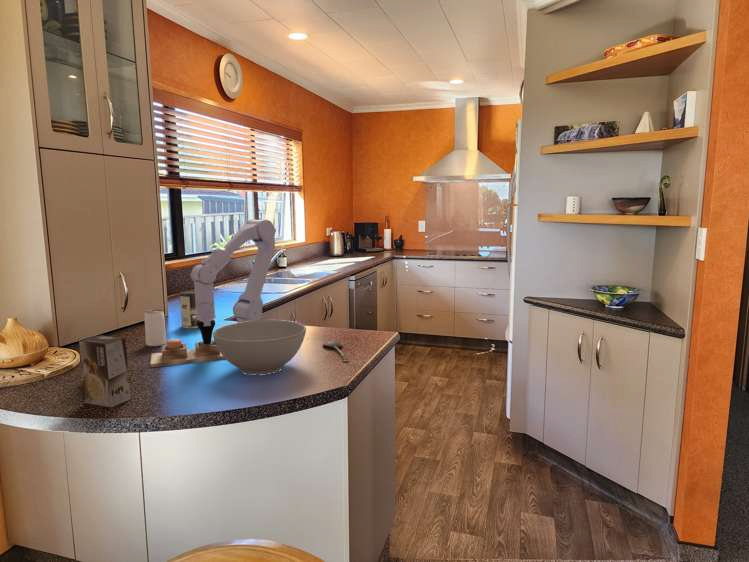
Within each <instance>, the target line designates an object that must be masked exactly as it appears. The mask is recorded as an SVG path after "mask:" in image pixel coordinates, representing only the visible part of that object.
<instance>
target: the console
mask: <svg viewBox="0 0 749 562" xmlns="http://www.w3.org/2000/svg"><path fill="white" fill-rule="evenodd" d="M202 342H203V340H202V341H195V342H194V345H195V347H194V349H187V343H186V342H185V343H184V342H183V343H182V342H181V343H182V348H180V349H170V350H167V344H164V345H161V352H155V353H151V357H150V363H149V364H150V368H156V367H164V366H172V365H174V366H175V365H181V364H182V365H183V364H190V363H191V364H193V363H199V362H209V361H210V360H211V361H218V360H217V359H220V360H226V359H225V358H224V356H223V355H222V354H221V352H220V351H219V349H218V347H217V345H216V343H215V341H214V339H213V340H212V339H211V342H214V345H210V346H200V343H202Z"/></svg>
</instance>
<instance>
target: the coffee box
mask: <svg viewBox="0 0 749 562" xmlns="http://www.w3.org/2000/svg"><path fill="white" fill-rule="evenodd" d="M78 343H79V351H80V352H79V354H80V362H81V364H80V365H81V373H82V381H83V382H82V383H83V390H84V402H85V404H89V405H96V406H101V407H107V408H114V407H116V406H118V405H120V404H123V403H125V402H128V401H130V400H131V389H130V377H129V365H128V363H129V362H128V354H127V343H126V337H119V336H109V335H102V334H101V335H99V334H98V335H95V336H91V337H87V338H85V339H82V340H79V341H78Z"/></svg>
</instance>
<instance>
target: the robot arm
mask: <svg viewBox="0 0 749 562" xmlns="http://www.w3.org/2000/svg"><path fill="white" fill-rule="evenodd" d="M276 231H277V230H276V227H275V226H274V224H273V222H272V221H271V220H269V219H254V218H253V219H252V218H251V219H249V220H247V221H246V222H245V223H244V224H243V225H241V227H240V228H239V230H238V231H237V232H236V233H235V234H234V235H233V237H231V238H230V240H229V241H227V242H226V244H225V245H224V246H223V247H221V248H220V247H217V248H213V249H211V252H210V255H208V256H207V257H206V258H205V259H202V260H201V261H200V263H201V264H196V265H195V266H194V267H193V268H192V271H191V272H190V274H189V275H190V279H191V280H192V281H193V283H194V284H193V285H194V290H195V303H196V316H192V318H193V319H197V320H200V322H197V326H198V327H199V328H198V329H199V331H200V334H201V339H202V341H203V343H204V344H210V343H211V341H212V338H213V332H214V329H215V326H216V321H215V318H216V312H215V310H216V309H215V293H214V292H215V291H214V282H215V280H216V279H217V275H218V273H219V272H221V270H222V269H223V268H224V267H225V266H226V265H228V263H229V262H231V256H232V254H234V253H235V252H236V251H238V249H240V247H242V246H243V245H244V244H245V243H247V241H252V242H253V243H254V244H255V246H256V248H257V252H256V255H255V257H254V261H253V264H252V267H251V271H250V273H249V276H248V280H247V282H246V286H245V289H244V292H242V293H241V294H240V295H239V296H238V299H237V301H236V302H235V303H234V305H233V307H232V313H233V315H234V317H236V323H238V322H245V321H254V320H261V318H262V316H263V304H264V302H263V299H262V297H261V294H262V293H263V292H262V291H263V288H264V285H265V282H266V278H267V276H268V272H269V269H270V265H271V262H272V259H273V257H274V253H275V250H276V241H275V240H276V239H275V236H276Z"/></svg>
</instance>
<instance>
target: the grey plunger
mask: <svg viewBox="0 0 749 562" xmlns="http://www.w3.org/2000/svg"><path fill="white" fill-rule="evenodd" d="M201 342H202V341H201ZM210 345H214V342H211V343H210V344H204V343H203V342H202V343H200V346H210Z"/></svg>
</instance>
